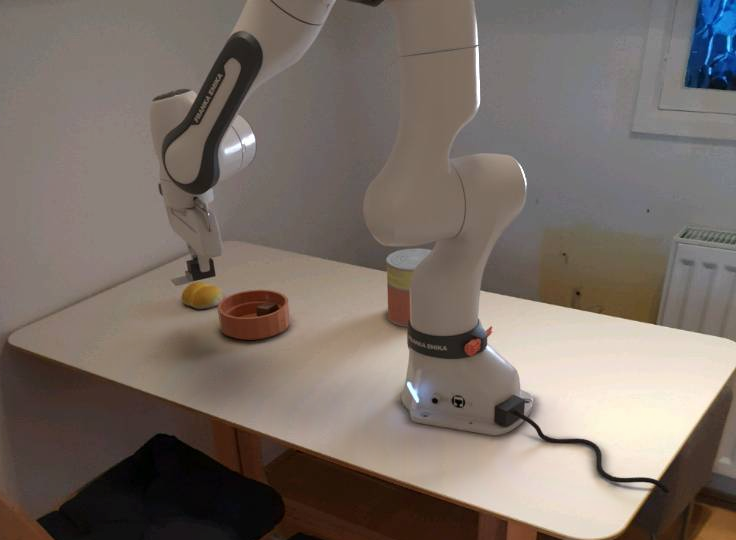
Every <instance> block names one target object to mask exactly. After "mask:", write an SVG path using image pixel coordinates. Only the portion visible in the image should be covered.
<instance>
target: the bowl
mask: <svg viewBox="0 0 736 540" xmlns="http://www.w3.org/2000/svg"><path fill="white" fill-rule="evenodd" d="M267 302H271V303H278V310H277V311H276V312H273V313H271V314H268V315H264V316H259V317H256V316H257V311H256V307H258V306H260V305H262V304H264V303H267ZM289 305H290V304H289V298H288V297H287V296H286V294H283V293H281V292H279V291H275V290H270V289H251V290H250V289H248V290H242V291H239V292H236V293H233V294H230V295H228V296H226V297H223V299H222V301H221V302H220V303H219V304H218V305H217V314H218V320H219V326H220V329H221V332H222V333H223V334H224V335H226V336H227V337H231V338H234V339H238V340H245V341H253V340H255V341H256V340H262V339H267V338H271V337H273V336H275V335H279V334H280V333H282V332H284V331H285V330H286V329H287V328H288V327H289V325H290V324H291V314H290V306H289Z"/></svg>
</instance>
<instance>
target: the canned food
mask: <svg viewBox="0 0 736 540" xmlns="http://www.w3.org/2000/svg"><path fill="white" fill-rule="evenodd" d="M432 250H433V249H431V248H430V249H429V248H423V247H413V248H412V247H411V248H404V249H403V248H402V249H399V250H396V251H394V252H391V253H390V254H388V255H387V256H386V259H385V261H386V282H387V283H386V284H387V285H386V286H387V319H388V320H389V321H390V322H391V323H393V324H395V325H397V326H401V327H405V328H407V325H408V320H409V319H410V279H411V275H412V273H413V271H414V269H415V268H416V266H417V265H418V264H419V263H420V262H421V261H423V260H424V259H425V258H426V257H427V256H428V255H429V254H430V253H431V251H432Z"/></svg>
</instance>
